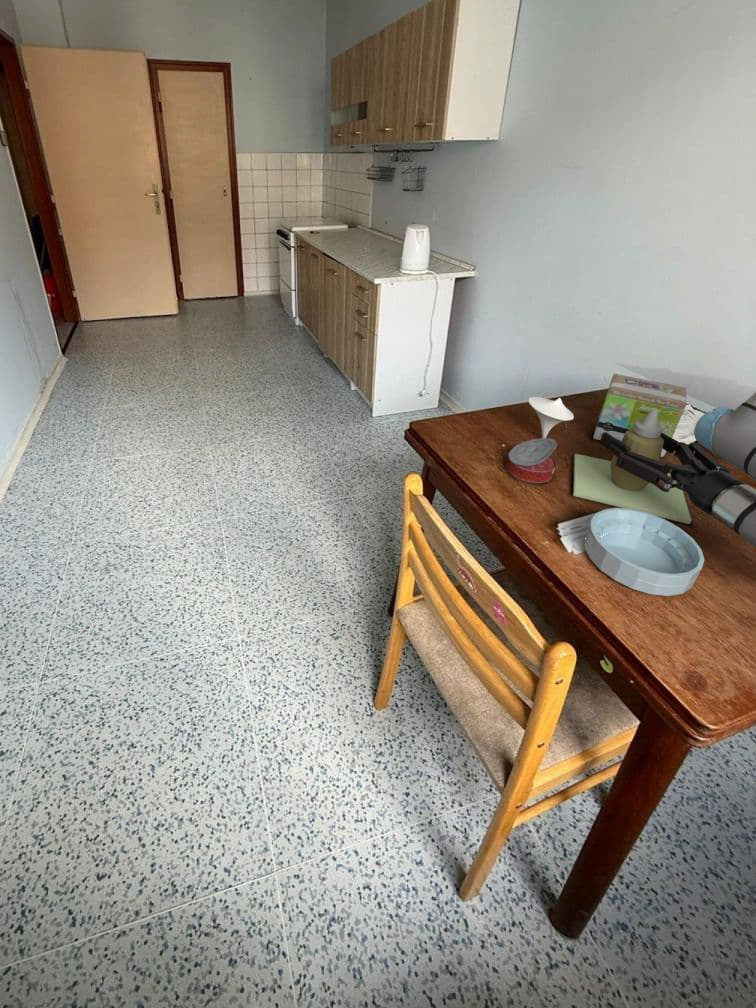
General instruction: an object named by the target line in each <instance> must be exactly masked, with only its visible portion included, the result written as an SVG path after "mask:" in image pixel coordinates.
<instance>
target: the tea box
mask: <svg viewBox="0 0 756 1008" xmlns="http://www.w3.org/2000/svg"><path fill="white" fill-rule="evenodd" d="M686 407H687V388H686V387H684V386H678V385H673V384H669V383H668V384H667V383H662V382H658V381H652V380H647V379H642V378H638V377H632V376H628V375H623V374H618V373H613V375H612V377H611V380H610V383H609V386H608V388H607V392H606V395H605V398H604V400H603V404H602V407H601V410H600V412H599V416H598V419H597V422H596V426H595V430H594V432H593V433H594V434H593V437H592V439H593V440H598V441H601V437H602V434H603V432H607V433H608V434H610V435H611V436H613V437H614V438H616V439H617V440H619V441H620V442H621V441H622V439H623V437H624V435H625V433H626V431H627V430H629V429H633V427H634V424H635V422H636V421H638V420H643V419H644V418H645V417H646V415H647V414H648V412H649V411H650V410H651V408H656V409H658V421H657V424H659V425H660V426H661V427H662V428H663V430H662V433H664V434H666V435H667V436H669V437H671V438H673V437H674V435H675V433H676V429H678V428H677V427H678V425H679V423H680V421H681V418H682V416H683V414H684V412H685V409H686ZM666 453H667V451H665V450H664V449H662V452H661V456H660V458H663V457H665V455H666Z"/></svg>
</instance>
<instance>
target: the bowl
mask: <svg viewBox="0 0 756 1008" xmlns="http://www.w3.org/2000/svg"><path fill="white" fill-rule="evenodd" d="M607 533H608V534H607ZM605 534H606V535H605ZM603 535H604V536H603ZM601 536H602V537H601ZM585 538H586V539H585ZM584 550H585V552H586V553H587V555H588V557H589V559H590V560H591V562H592V563H593V564H594V565H595V566H596V567H597V568H598V569H599V570H600V571H601V572H603V573H604V574H605V575H607V576H608V577H609V578H611V579H612V580H614V581H615V582H618V583H620V584H621V585H624V586H625V587H628V588H630V589H632V590H635V591H638V592H641V593H645V594H648V595H652V596H653V595H654V596H663V597H664V596H665V597H671V596H677V595H683V594H684V593H686V592H688V591H689V590H691V589H692V588H693V587H694V584H695V583H696V581H697V578H698V576H699V575H700V572H701V571H702V569H703V566H704V563H705V557H704V554H703V551H702V548H701V547H700V545H698V543H697V542H696V540H695V539H694V538H693V537H692V536H691V535H689V534H688V533H687V532H685V531H684V530H683V529H682V528H681V527H679V526H677V525H675V524H674V523H672V522H670V521H668V519H666V518H662V517H658V516H655V515H652V514H650V513H647V512H642V511H638V510H634V509H626V508H621V507H613V508H612V507H611V508H605V509H602V510H600V511H597V512H596V513H595V514H594V515H593V517H592V518H591V519H590V521H589V524H588V527H587V529H586V532H585V536H584Z"/></svg>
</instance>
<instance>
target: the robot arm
mask: <svg viewBox="0 0 756 1008" xmlns="http://www.w3.org/2000/svg"><path fill="white" fill-rule="evenodd" d="M693 435H694V439H695V440H696V441H697V443H698V444H700V445H701V446H702V447H704V448H706V449H707V450H708V451H709V452H711V453H712V454H713V455H714V456H716V457H718V458H720V459H722V460H724V461H725V462H727V463H729V464H730V465H732V466H734V467H735V468H737V469H738V470H740V471H742V472H743V473H744V474H745V473H746V475H748V476H750V477H751V478H753V479H754V480H756V391H755V392H754V393H752V394H751V395H750V396H749V397H748V398H747V399H746V400H745V401H743V402H742V403H741V404H740V405H738V406H737V408H735V409H733V408H729V407H721V406H720V407H717V408H714V409H712V411H707V412H705V413H704V414H703V415H702V416H701V417H700V418H699V419H698V420H697V422H696V424H695V426H694V429H693ZM660 436H661V437H662V438H663V439H664V444H663V448H662V449H664V450H665V451H666V453H669V454H673V453H674V454H673V457H677V458H678V460H679V462H680V463H681V465H678V464H675V463H672V462H667V463H665V462H662V461H660V460H659V461H656V460H654V459H651V458H648V457H645V456H642V455H639V454H637V453H634V452H631V448H630V447H628V446H626V445H625V444H623V443H622V442H620V441H619V440H617V439H616V438H614V437H613V436H611V435H610V434H608V433H607V432H603V434H602V437H601V440H599V445H601V446H602V447H604V448H605V449H607V450H608V452H609V453H611V454H612V455H613V456H614V455H615V456H617V457H618V459H617V462H616V466H618V467H620V468H622V469H624V470H626V471H627V472H629V473H631V474H633V475H635V476H637V477H639V478H641V479H643V480H645V481H647V482H649V483H651V484H653V485H655V486H656V487H658V488H659V489H660V490H662V491H663V492H669V490H670V488H677V489H680V490H682V491H683V493H686V494H687V496H688V498H689V501H690V503H691V504H692V505H694V506H695V507H697V508H698V509H700V510H701V511H702V512H704V513H705V514H707V515H709V516H712V518H713V519H715V520H716V521H718V522H719V523H720V524H722V525H723V526H725V527H726V528H728V529H730V530H731V531H733V533H735V534H737V535H738V536H739V537H741V538H742V539H743V540H745V541H746V542H747V543H749V544H750V545H751V546H753V547H754V548H756V488H754V487H752V486H751V485H749V484H745V483H744V482H743V481H741V480H740V479H739V478H737V477H735V476H733V475H732V474H731V473H732V470H731V469H730V468H729V467H727V466H726V465H723V464H721V463H720V462H718V460H716V459H715V458H714V457H713V456H712V455H711V454H709V453H708V452H707V451H705V449H703V448H702V447H701V446H700V445H698V444H697V443H695V442H689V443H688V444H687V443H686V442H684V441H678V440H676V439H675V438H673V437H672V438H671V437H669V436H667V435H666V434H664V433H661V435H660ZM670 470H671V472H670ZM668 473H669V474H671V475H668ZM670 477H671V478H670Z"/></svg>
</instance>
